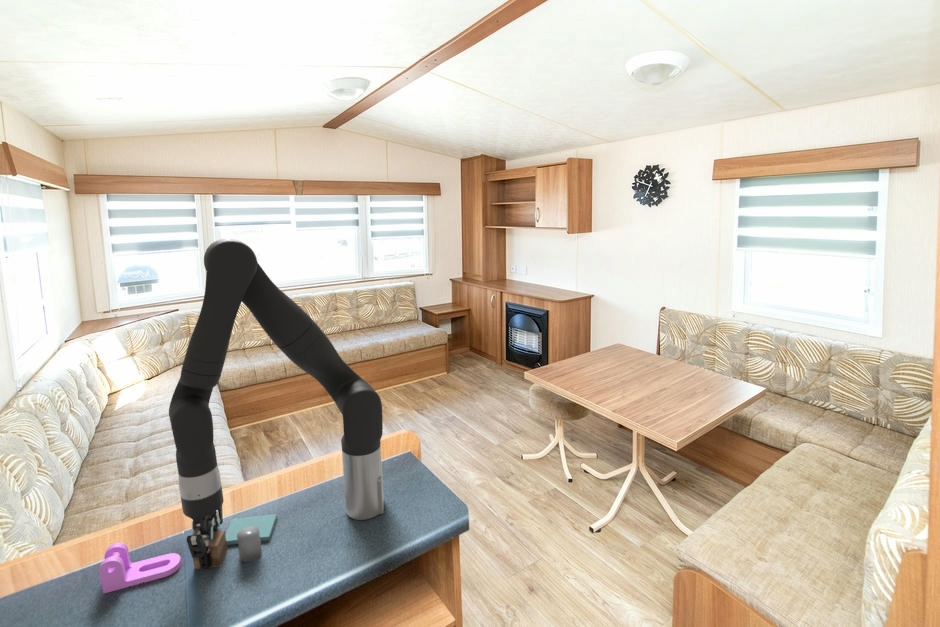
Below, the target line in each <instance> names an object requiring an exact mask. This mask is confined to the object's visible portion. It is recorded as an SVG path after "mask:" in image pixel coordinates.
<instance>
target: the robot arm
mask: <svg viewBox="0 0 940 627" xmlns="http://www.w3.org/2000/svg"><path fill="white" fill-rule="evenodd" d="M203 264H204V265H203V266H204V269H205V270H206V271H205V272H206V273H205V274H206V275H205V287H204V289H205V290H204V296H203V301H202V305H201V309H200V312H199V316H198V318H197V320H196V323H195V326H194V328H193V330H192V334H191V336H190V338H189V341H188V345H187V348H186V352H185V356H184V360H183V363H182V367H181V371H180V375H179V376H180V377H179V380H178V382H177V385H176V387H175V388H174V390H173V394H172V397H171V400H170V403H169V408H168V415H169V416H168V418H169V421H170V422H169V423H170V426H171V433H172V436H173V440H174V444H175V445H174V446H175V449H176V450H175V458H176V459H175V460H176V461H175V462H176V466H177V467H176V468H177V473H178V490H179V495H180V503H181V508H182V512H183V515H185V517H187V518H189V519H191V520H192V521H191V529H192V534H191V535H187V537H186V543H187V546H188V549H189V551H190V552H189V553H190V555H191V557H192V559H193V558H198V557H199V563H200V569H203V570H204V569H209V568H212V567H211V566H212V558H211V551H210V550H211V549H210V541H211V540H212V539H213V531H221V528H222V527H221V525H223V523H224V519H223V518H224V517H223V516H224V515H223V504H224V495H223V486H222V479H221V473H220V469H219V466H218V465H219V464H218V460H217V453H216V447H215V444H214V421H213V415H212V411H211V408H210V400H211V397H212V393H213V389H214V388H215V387H216V386H217V385H218V383H219V381H220V380H221V376H222V373H223V369H224V365H225V362H226V358H227V353H228V349H229V345H230V340H231V337H232V334H233V333H232V332H233V330H234V329H233V328H234V325H235V321H236V318H237V316H238V312H239V310H240V307H241V304H243V305H245V307H246V308H247V309H248V311H249V312H250V313H251V314H252V315H253V317H254V318H255V320H256V321H257V322H258V324H259V326H260V327H261V328H262V330H263V331H264V332H265V334H266V335H267V336H268V337H269V338H270V340H271V341H272V343H274V345H275V346H277V348H279V350H280V351H281V352H282V353H283V354H284V355H285V356H286V357H287V358H288V359H289V360H290V361H291V362H292V363H293V364H294V365H296V367H299V369H301V370H302V371H303V372H305V373H306V374H308V375H310V376H311V377H312V378H313V379H315V380H316V381H317V382H318V383H319V384H320V385H321V387H323V388H324V390H325V391H326V392H327V394H328V395H329V396H330V398H331V399H332V401H333V402H334V403H335V405H336V407H337V408H338V410H339V412H340V414H341V416H342V423H343V424H342V425H343V428H342V429H343V435H342V437H341V441H340V442H341V443H340V444H341V457H342V473H343V474H342V475H343V488H344V501H345V512H346V515H347V516H348V517H349V518H351V519H353V520H359V521H364V520H370V519H372V518H375V517H377V516H379V515H383V514H384V503H385V502H384V485H383V484H384V481H383V480H384V479H383V478H384V477H383V467H382V448H381V446H382V445H381V439H382V436H383V427H384V426H383V404H382V399H381V397H380V394H378V392H377V391H376V390H375V389H374V388H373V387H372V386H371V385H370V383H368V382H367V381H366V380H364V379H363V378H362V377H361V376H360V375H358V374H357V372H355V371H354V370H353V369H352V368H351V367H350V366H349V365H348V364H347V363H346V362H345V361H344V360H343V359H342V357H341V356H340V354H339V353H338V351H337V349H336V348H335V347H334V344H333V343H332V342H331V340H330V338H329V337H328V336H327V334H325V332H324V331H323V330H322V329H321V328H320V327H319V325H318V323H316V322H315V321H314V319H312V317H311V316H310V315H309V314H308V313H307V312H306V311H305V310H304V309H303V308H302V307H301V306H300V305H298V304H297V303H296V302H295V301H294V300H293V299H292V298H290V297H289V296H288V295H287V294H286V293H285V292H283V290H281V289H280V288H279V287H278V286H277V285H276V284H275V283H274V282H273V281H272V279H271V278H270V277H269V276H268V274H267V273H266V272H265V270H264V269H263V267H262V266H261V265H260V264H259V262H258V259H257V256H256V254H255V252H254V250H253V249H252V247H250V246H249V245H248V244H246V243H244V242H242V241H241V240H238V239H235V238H234V239H233V238H221V239H217V240H215V241H213V242H211V243H210V244H209V246H208V247H207V248H206V249H205V252H204V256H203ZM207 534H208V537H204V536H202V535H207ZM204 542H205V543H206V546H205V543H204Z"/></svg>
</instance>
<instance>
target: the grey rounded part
mask: <svg viewBox="0 0 940 627" xmlns="http://www.w3.org/2000/svg"><path fill="white" fill-rule="evenodd" d="M237 540H238V544H237V547H238V554H239V560H240V561H241V562H244V563H250V562H253V561H255V560H257V559H258V558H259V557H260V556H261V555H262V553H263V550H262V541H260V532H259V528H258V527H256V526H249V527H246V528H243V529H242V530H240V531H239V532H238V534H237Z"/></svg>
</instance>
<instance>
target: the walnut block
mask: <svg viewBox="0 0 940 627" xmlns="http://www.w3.org/2000/svg"><path fill="white" fill-rule="evenodd" d="M225 534H226V530H225V529H223V530H220V531H213V539H212V540H211V541H210V549H211V550H210V551H211V558H212V566H211V567H210V568H216V567H220V566H221V565H222V562H223V561H224V558H225V556H226V554H227V551H228V545H227V544H226V536H225ZM202 536H204V537H208V534H207V535H202ZM204 543H205V542H204ZM205 546H206V543H205ZM192 562H193V568H194V570H199V569H200V570H201V568H200V563H199V557H198V558H192Z"/></svg>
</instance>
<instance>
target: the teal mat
mask: <svg viewBox="0 0 940 627" xmlns="http://www.w3.org/2000/svg"><path fill="white" fill-rule="evenodd" d="M277 518H278V515H277V513H276V514H265V515H264V514H263V515H254V516H247V517H236V518H235V517H234V518H232V519H231V522H230V524H229V525H228V527H227V530H226V531H225V536H226V544H227V546H229V545H238V540H237V534H238V532H239V531H240V530H242V529H243V528H246V527H249V526H256V527H258V528H259V532H260V541H261V542H264V541H270V540H271V536H272V533H273V531H274V528H275V525H276V522H277Z"/></svg>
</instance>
